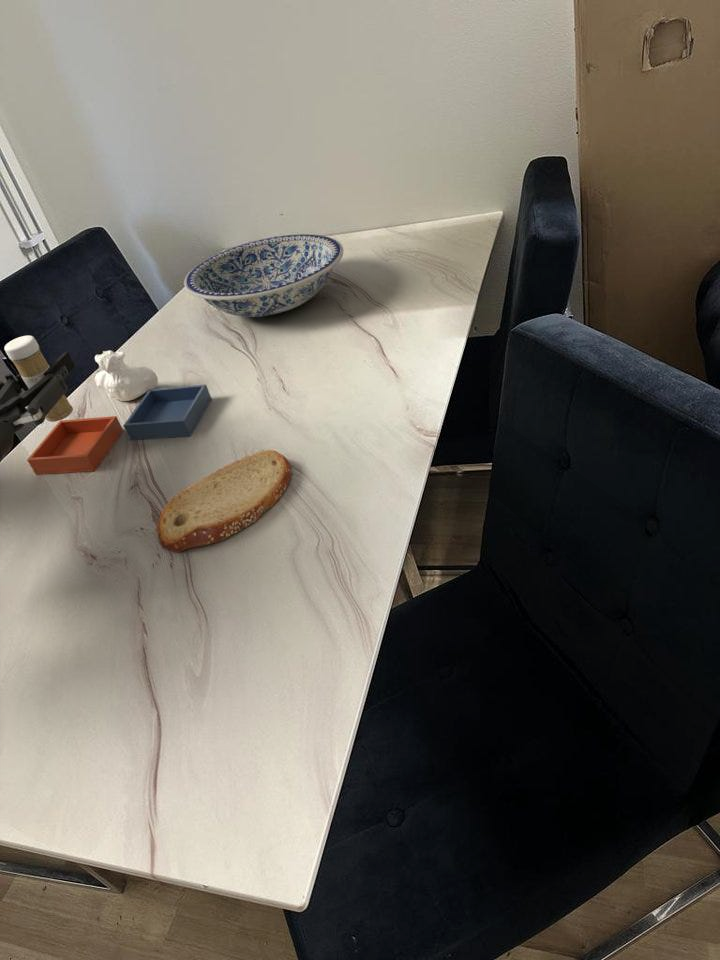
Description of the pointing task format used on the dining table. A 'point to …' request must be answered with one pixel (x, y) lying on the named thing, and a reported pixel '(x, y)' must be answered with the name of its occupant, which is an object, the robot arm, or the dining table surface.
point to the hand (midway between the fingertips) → (56, 361)
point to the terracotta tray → (76, 445)
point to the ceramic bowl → (265, 274)
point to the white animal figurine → (123, 377)
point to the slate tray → (168, 412)
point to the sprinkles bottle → (35, 371)
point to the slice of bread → (224, 501)
